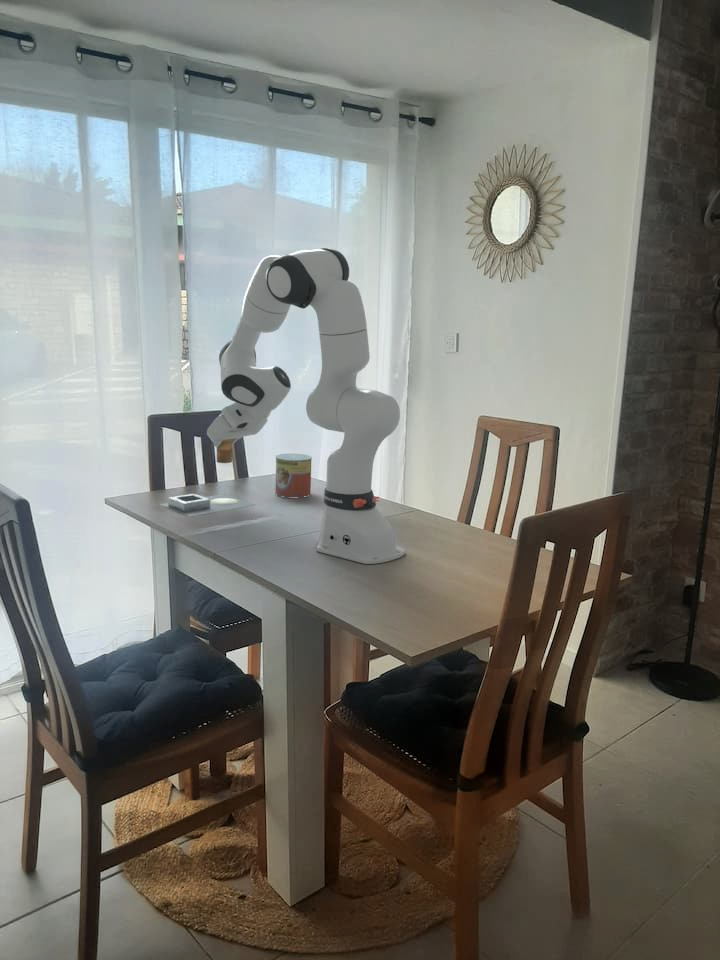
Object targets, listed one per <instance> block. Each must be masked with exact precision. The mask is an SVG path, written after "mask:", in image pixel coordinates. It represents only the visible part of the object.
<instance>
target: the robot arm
mask: <svg viewBox="0 0 720 960" xmlns="http://www.w3.org/2000/svg"><path fill="white" fill-rule="evenodd" d="M349 277H350V266H349V264H348V261H347V259H346V257H345V256H344V255H343V253H341V251H338V250H337V249H334V248H327V247H323V248H319V249H311V250H307V249H304V250H299V251H295V252H293V253H290V254H283V255H268V256H266V257H264V258H263V259H262V260H260V263H259V264H258V265H257V267H256V269H255V270H254V273H253V275H252V277H251V279H250V282H249V283H248V287H247V289H246V292H245V294H244V298H243V301H242V302H243V303H242V307H241V315H240V317H239V321H238V323H237V325H236V329H235V331H234V333H233V335H232V338H231V339H230V340H229V341H228V342H227V343H226V344H225V345H224V346H223V347H222V348H221V349H220V352H219V356H218V361H219V366H220V385H221V391H222V394H223V395H224V397H226V398H227V399H228V400H230V401H232V403H231V404H229V405H226V406H224V407H223V408H222V409H221V411H220V412H221V413H220V414H219V415H218V416H217V417H215V419H214V420H213V421H212V422H211V423H210V425H209V426H208V428H207V429H206V435H207V437H208V438H209V439H210V440H211V442H213V443H212V444H213V446H214V447H215V448H217V447H220V446H221V445H222V444H223V443H222V441H224V440H228V439H232V445H234V444H235V443H236V442H237V441H238V440H240V439H242V438H243V437H248V436H253V435H256V434H258V433H259V432H261V430H262V429H263V428H264V426H265V425H266V424H267V422H268V418H269V417H270V415H271V413H272V412H273V411H274V410H276V409H277V408H278V407H279V406H280V405H281V404H282V402H283V401H284V400H285V398H286V397H287V395H289V392H290V390H291V388H292V387H291V380H290V378H289V376H288V374H287V373H286V372H285V370H283V368H281V367H279V366H276V365H273V366H270V367H264V368H262V367H261V368H260V367H257V353H256V349H255V348H256V345H257V343H258V340H259V338H260V335H261V334H262V333H265V334H268V333H273V332H274V333H275V332H276V331H278V330H279V329H280V327H281V326H282V325H283V324H284V322H285V319H286V318H287V315H288V313H289V310H290V308H291V305H292V306H295V307H297V308H300V309H302V310H303V309H306V308H308V307H309V306H311V307H312V308H313V310H314V311H315V313H316V316H317V325H318V334H319V343H320V353H321V372H320V377H319V380H318V384H317V385H316V387H315V388H314V389H312V391H311V392H310V394H309V395H308V397H307V400H306V405H305V407H306V408H305V412H306V415H307V418H308V419H309V421H310V422H311V423H312V424H315V425H317V426H318V427H320V428H322V429H325V430H327V431H332V432H333V431H334V432H338V433H344V435H343V436H344V437H343V441H342V444H341V446H340V448H338V449H336V450H334V451H333V452H331V454H329V456H328V458H327V461H326V484H325V485H326V487H325V488H324V492H323V503H324V505H325V507H324V512H323V515H322V519H321V526H320V533H319V537H318V541H317V546H316V552H319V553H323V554H327V555H330V556H334V557H337V558H341V559H345V560H348V561H353V562H357V563H361V564H364V565H372V564H373V565H374V564H380V563H381V564H382V563H386V562H390V561H393V560H397V559H399V558H402V557H403V556H404V555H405V554H406V551H405V549H404V548H403V547H401V546H399V545H397V543H396V533H395V530H394V527H393V526H392V525H391V524H390V522H389V521H388V520H387V519H386V518H385V516H384V515H383V514H382V513H381V512H380V511H379V509H378V508H377V507H376V506H377V503H376V502H380V499H379V498H380V496H375V495H374V491H373V490H372V483H373V482H372V481H373V469H374V461H375V457H376V455H377V451H378V449H379V447H380V446H381V444H382V443H383V441H384V440H385V439H386V438H387V437H389V436H390V435H391V434H392V433H393V432H394V431H395V430H396V429H397V427H398V425H399V422H400V419H401V418H400V417H401V411H400V406H399V403H398V402H397V399H396V398H395V397H393V396H391V395H388V394H387V393H384V392H381V391H378V390H376V389H375V390H374V389H366V388H358V387H357V384H356V383H357V376H358V373H359V372H361V371H362V370H364V369H365V367H367V365H368V363H369V362H370V358H371V355H370V346H369V336H368V327H367V325H368V324H367V320H366V319H367V318H366V313H365V309H364V308H365V307H364V304H363V300H362V296H361V292H360V290H359V289H360V288H359V287H358V286H357V285H356V284H355V283H353V282H351V281H350V280H349ZM348 280H349V281H348ZM233 402H234V403H233Z"/></svg>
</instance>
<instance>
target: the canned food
mask: <svg viewBox="0 0 720 960" xmlns="http://www.w3.org/2000/svg"><path fill="white" fill-rule="evenodd" d="M312 459H313V458H312V456H311V455H307V454H302V453H282V454H276V456H275V493H276V494H277V495H279V496H284V497H304V496H308V495H310V493H311V486H312V485H311V484H312ZM275 493H274V494H275ZM276 494H275V495H276ZM277 495H276V496H277ZM279 496H278V497H279ZM310 496H311V495H310ZM284 497H283V498H284ZM308 497H309V496H308Z"/></svg>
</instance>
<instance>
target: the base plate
mask: <svg viewBox="0 0 720 960" xmlns="http://www.w3.org/2000/svg"><path fill="white" fill-rule="evenodd" d="M204 497H205V498H208V499H210V508H205V509H199V510H193V511H187V512H183V511H180V510H178V509H175V508H173V507H170V506H168V502H166V503H160V504H159V505H160V506H161V507H165V508H167V509H169V510H172V511H174V512H177V513H179V514H182V515H184V516H187V517H190V518H191V517H196V516H201V515H206V514H213V513H218V512H223V511H231V510H235V509H241V508H246V507H251V506H253V507H254V506H256V504H254V503H253V502H248V501H246V500H243V499H239V498H237V497H234V496H231V495H228V494H226V493H222V494H217V495H216V494H215V495H209V496H208V495H207V496H204Z"/></svg>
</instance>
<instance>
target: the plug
mask: <svg viewBox="0 0 720 960" xmlns="http://www.w3.org/2000/svg"><path fill="white" fill-rule="evenodd" d="M222 443H223V444H222V445H221V446H220V447H216V463H218V464H219V463H220V464H230V463H232V462H233V444H232V439H228V440H224V441H222Z"/></svg>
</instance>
